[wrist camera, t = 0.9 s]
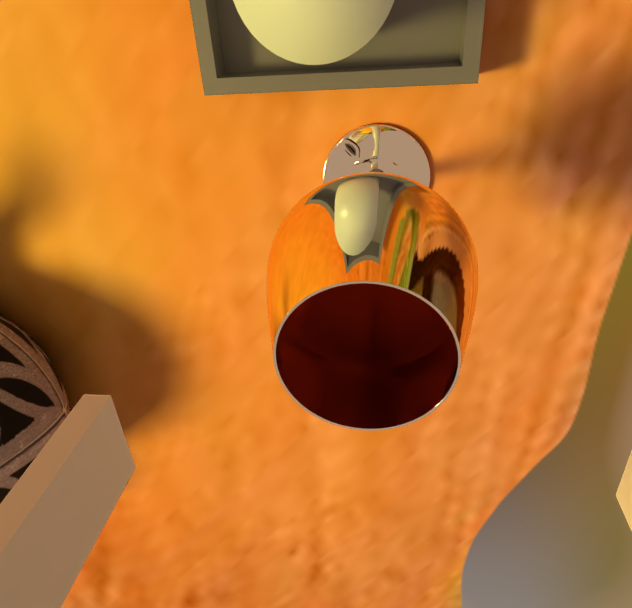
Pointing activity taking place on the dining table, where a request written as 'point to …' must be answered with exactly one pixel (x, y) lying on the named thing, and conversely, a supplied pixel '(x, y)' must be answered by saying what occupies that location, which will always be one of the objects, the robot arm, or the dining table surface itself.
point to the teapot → (25, 403)
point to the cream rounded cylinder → (313, 26)
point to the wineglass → (371, 287)
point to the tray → (355, 70)
